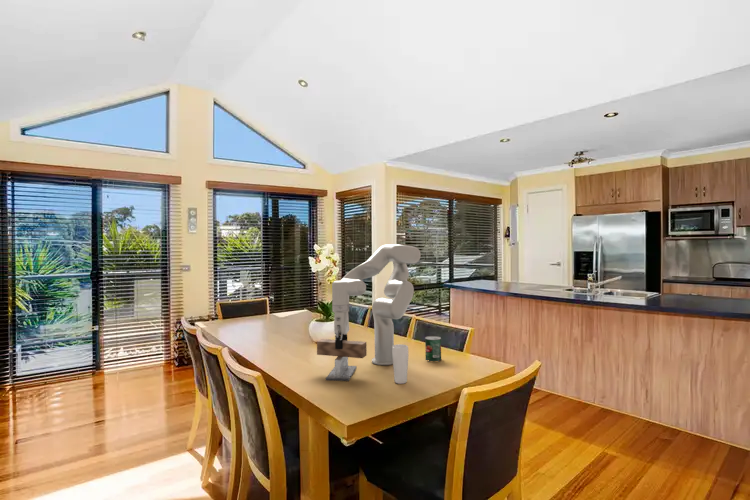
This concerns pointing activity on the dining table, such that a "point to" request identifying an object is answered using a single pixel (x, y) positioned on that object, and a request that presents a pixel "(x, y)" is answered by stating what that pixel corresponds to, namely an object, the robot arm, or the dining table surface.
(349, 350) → the brown wooden block
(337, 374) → the ridge stand
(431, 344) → the canned tomato
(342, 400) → the dining table surface
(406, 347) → the drinking glass
